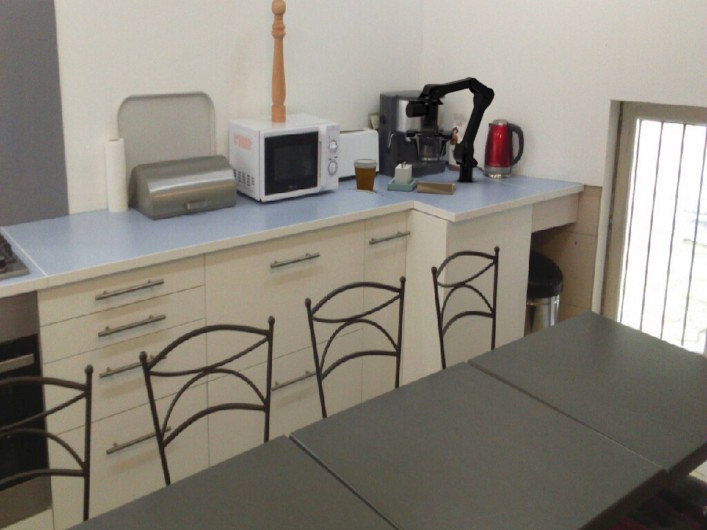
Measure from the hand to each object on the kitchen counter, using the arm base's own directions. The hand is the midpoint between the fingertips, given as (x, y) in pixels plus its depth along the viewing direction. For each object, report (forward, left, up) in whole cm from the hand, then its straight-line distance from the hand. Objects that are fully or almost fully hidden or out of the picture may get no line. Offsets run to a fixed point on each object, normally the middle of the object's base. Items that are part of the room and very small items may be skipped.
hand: (429, 155), depth 308 cm
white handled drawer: (+8, -9, -12) cm, 17 cm away
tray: (+8, -9, -12) cm, 17 cm away
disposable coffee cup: (+19, -22, -12) cm, 32 cm away
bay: (+9, +5, -12) cm, 16 cm away
